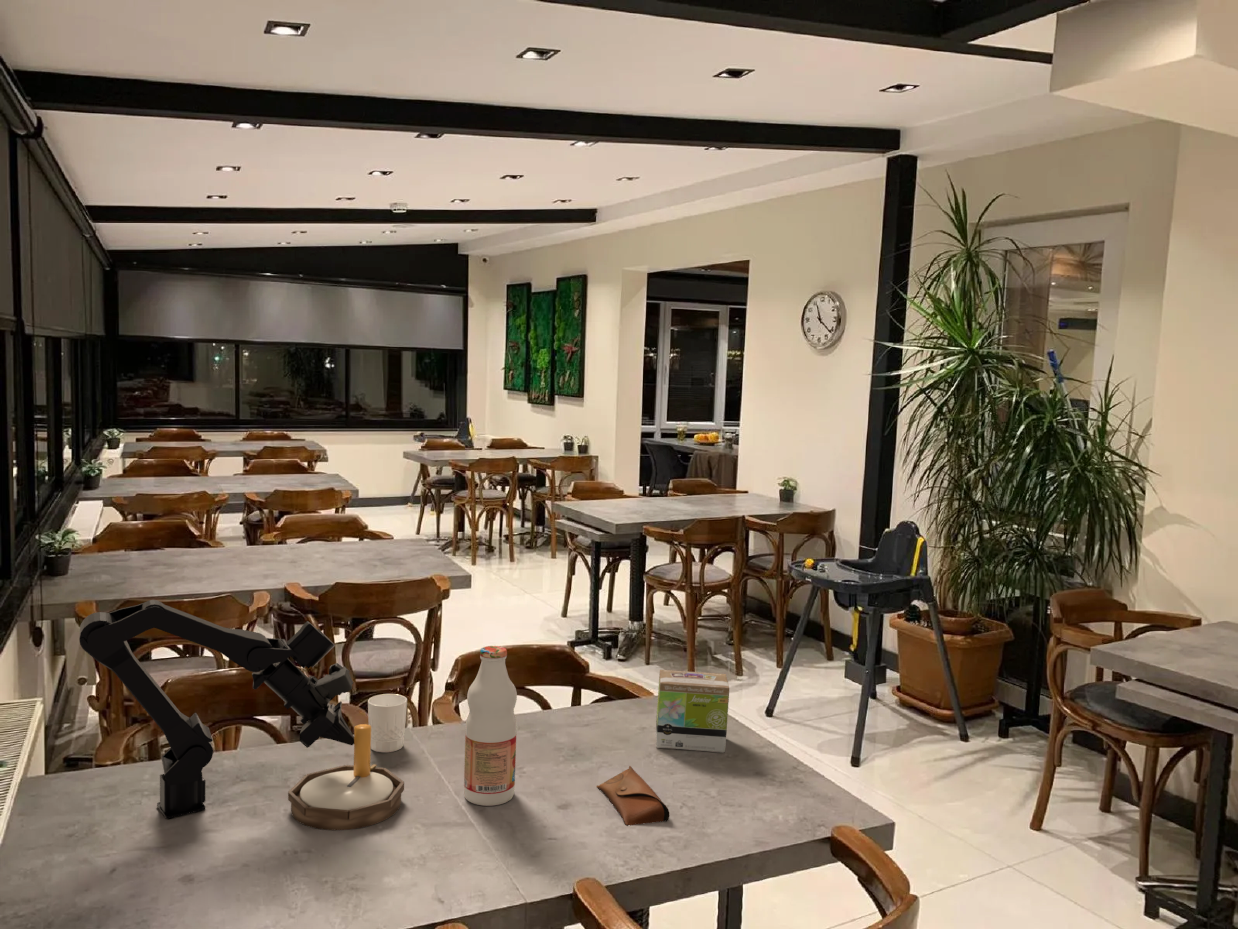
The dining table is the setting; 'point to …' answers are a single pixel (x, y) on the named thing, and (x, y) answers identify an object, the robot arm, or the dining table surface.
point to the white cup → (387, 721)
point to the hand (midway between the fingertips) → (354, 743)
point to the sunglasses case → (634, 799)
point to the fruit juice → (490, 732)
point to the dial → (349, 781)
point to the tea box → (692, 711)
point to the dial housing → (345, 818)
